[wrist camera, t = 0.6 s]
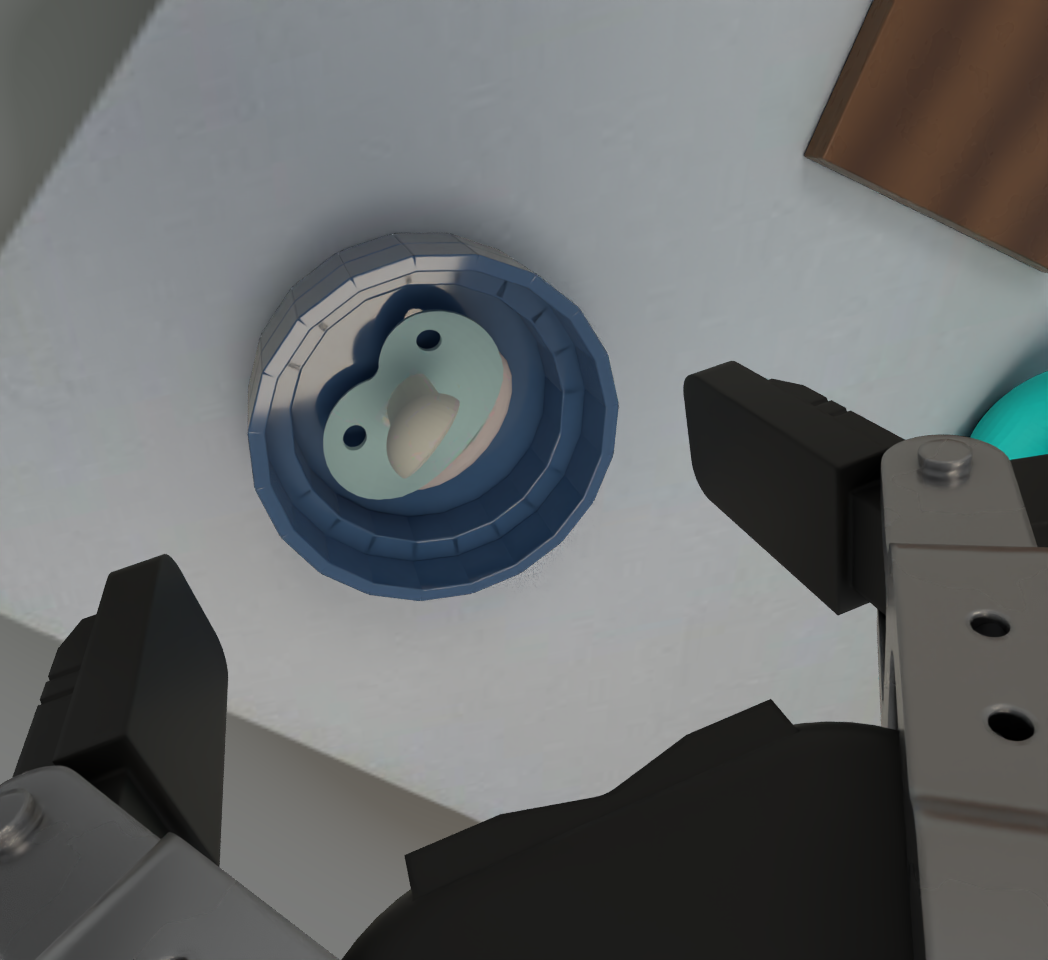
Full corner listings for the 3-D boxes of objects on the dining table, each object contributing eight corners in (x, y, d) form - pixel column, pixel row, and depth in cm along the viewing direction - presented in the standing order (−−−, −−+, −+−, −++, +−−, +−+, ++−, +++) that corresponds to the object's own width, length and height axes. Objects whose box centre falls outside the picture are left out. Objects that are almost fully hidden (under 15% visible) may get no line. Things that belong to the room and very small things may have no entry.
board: (802, 156, 29) (822, 158, 28) (1000, -286, 25) (1032, -302, 24) (1041, 272, 36) (1065, 277, 35) (1235, -65, 31) (1269, -70, 30)
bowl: (217, 510, 29) (212, 575, 25) (295, 178, 24) (303, 195, 21) (512, 557, 34) (545, 617, 30) (617, 288, 30) (671, 318, 26)
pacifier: (540, 367, 30) (418, 273, 26) (607, 432, 24) (466, 324, 21) (426, 511, 31) (296, 437, 28) (467, 601, 26) (313, 524, 22)
